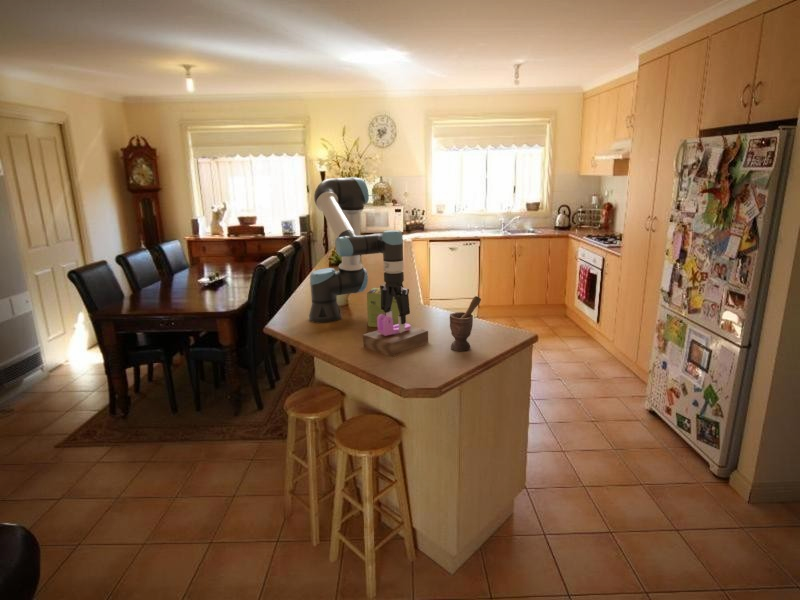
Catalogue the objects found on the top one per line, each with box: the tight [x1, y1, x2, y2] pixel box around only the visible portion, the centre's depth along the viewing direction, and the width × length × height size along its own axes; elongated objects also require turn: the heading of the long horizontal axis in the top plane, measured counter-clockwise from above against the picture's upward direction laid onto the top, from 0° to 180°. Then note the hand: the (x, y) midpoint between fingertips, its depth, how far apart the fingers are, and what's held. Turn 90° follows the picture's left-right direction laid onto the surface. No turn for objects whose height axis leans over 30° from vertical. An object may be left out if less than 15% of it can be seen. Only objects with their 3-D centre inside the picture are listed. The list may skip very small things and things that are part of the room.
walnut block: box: [362, 323, 429, 357], centre depth 186 cm, size 16×20×5 cm
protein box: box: [366, 287, 403, 328], centre depth 212 cm, size 10×15×16 cm
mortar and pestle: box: [449, 295, 482, 352], centre depth 179 cm, size 12×9×20 cm
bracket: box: [376, 314, 412, 336], centre depth 184 cm, size 13×6×7 cm, turn 124°
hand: (395, 329), depth 185 cm, fingers closed on bracket, 6 cm apart
